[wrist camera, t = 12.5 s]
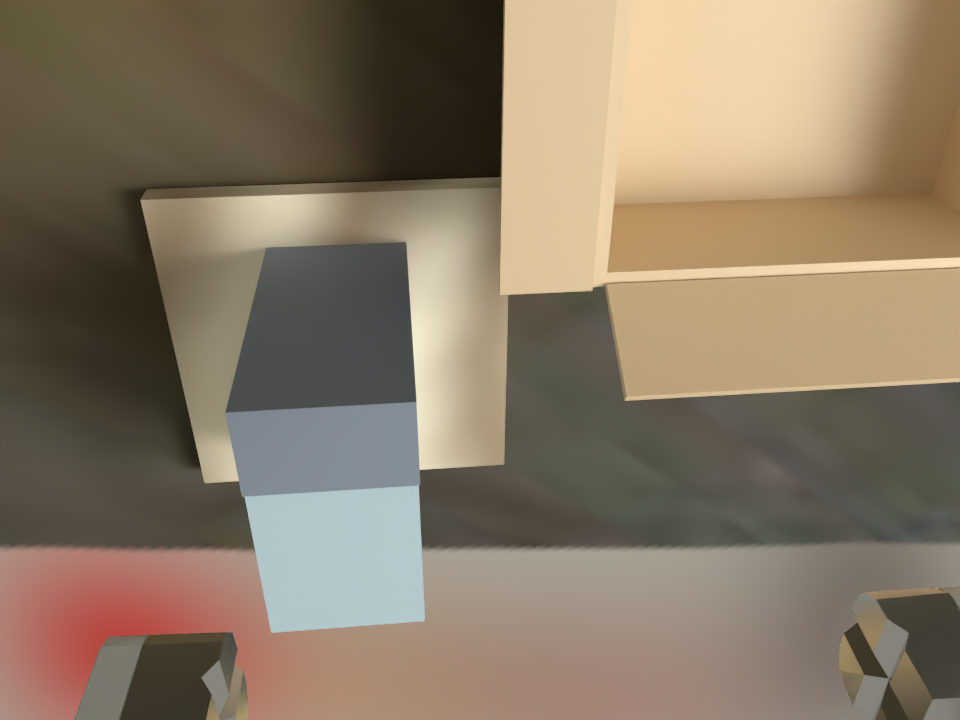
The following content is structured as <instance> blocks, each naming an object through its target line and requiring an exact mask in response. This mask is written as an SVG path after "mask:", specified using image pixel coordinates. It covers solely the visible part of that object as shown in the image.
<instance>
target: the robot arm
mask: <svg viewBox="0 0 960 720" xmlns="http://www.w3.org/2000/svg"><path fill="white" fill-rule="evenodd" d="M852 613H853V615H854V616H855V618H856V620H857V622H858V623H857V624H855V625H854V626H853V627H851V628H850V629H849V630H848V631H846V632H845V633H844V634H843V638H842V641H841V645H840V648H839V662H840V672H841V676H842V680H843V683H844V687H845V689H846V691H847V693H848V696H849V698H850V700H851V702H852V704H853V706H855V707H856V708H857V709H858V710H860V711H861V712H862V713H864V714H865V715H866V716H868V717H869V718H870V719H871V720H960V587H945V588H934V587H931V588H917V589H903V590H890V591H877V592H864V593H863V594H861V595H860V596H859V597H858V598H857V599H856V602H855V604H854V607H853V610H852ZM237 649H238V648H237V645H236V642H235V639H234V636H233V633H232V632H227V633H226V632H224V633H196V634H195V633H193V634H165V635H164V634H163V635H139V636H120V637H108V639H107V640H106V642H105V643H104V644H103V646H102V647H101V649H100V650H99V652H98V655H97V658H96V661H95V664H94V666H93V669H92V672H91V675H90V677H89V680H88V683H87V686H86V689H85V691H84V694H83V697H82V700H81V703H80V705H79V708H78V711H77V714H76V717H75V719H74V720H247V714H248V694H247V683H246V679H245V675H244V671H243V670H241V669H240V668H238V667H237V666H236V665H235V660H236V655H237Z"/></svg>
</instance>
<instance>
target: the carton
mask: <svg viewBox="0 0 960 720" xmlns="http://www.w3.org/2000/svg"><path fill="white" fill-rule="evenodd" d="M605 286H606V288H605V291H606V297H607V303H608V308H609V314H610V320H611V326H612V331H613V337H614V343H615V348H616V354H617V360H618V366H619V371H620V377H621V383H622V388H623V394H624V400H625V401H628V400H645V399H663V398H681V397H698V396H716V395H734V394H752V393H769V392H787V391H805V390H822V389H840V388H858V387H876V386H893V385H911V384H929V383H946V382H960V0H504V12H503V70H502V128H501V185H500V243H499V294H500V295H511V294H534V293H556V292H578V291H592V290H593V287H605Z"/></svg>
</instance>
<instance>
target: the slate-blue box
mask: <svg viewBox="0 0 960 720" xmlns="http://www.w3.org/2000/svg"><path fill="white" fill-rule="evenodd" d="M225 413H226V418H227V423H228V429H229V434H230V439H231V444H232V449H233V454H234V459H235V464H236V469H237V474H238V479H239V484H240V489H241V494H242V497H245V501H246V506H247V511H248V516H249V521H250V526H251V531H252V536H253V542H254V547H255V552H256V557H257V562H258V567H259V572H260V577H261V582H262V587H263V592H264V597H265V603H266V608H267V613H268V618H269V623H270V628H271V633H275V632H288V631H301V630H313V629H327V628H339V627H353V626H366V625H379V624H392V623H405V622H417V621H425V610H424V589H423V569H422V547H421V526H420V504H419V485H420V467H419V445H418V424H417V402H416V386H415V371H414V355H413V339H412V324H411V308H410V292H409V277H408V261H407V246H406V242H396V243H371V244H345V245H320V246H295V247H270V248H266V251H265V255H264V259H263V263H262V267H261V271H260V275H259V279H258V283H257V287H256V291H255V295H254V299H253V303H252V307H251V311H250V315H249V319H248V323H247V327H246V331H245V335H244V339H243V343H242V347H241V351H240V356H239V360H238V364H237V368H236V372H235V376H234V380H233V384H232V388H231V392H230V396H229V400H228V404H227V408H226V412H225Z"/></svg>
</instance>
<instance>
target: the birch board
mask: <svg viewBox="0 0 960 720" xmlns="http://www.w3.org/2000/svg"><path fill="white" fill-rule="evenodd" d="M500 185H501V177H491V178H462V179H432V180H402V181H372V182H343V183H313V184H283V185H253V186H223V187H194V188H164V189H147V190H146V191H145V193H144V195H143V196H142V198H141V200H140V201H141V205H142V209H143V214H144V218H145V223H146V227H147V231H148V236H149V240H150V245H151V249H152V253H153V258H154V262H155V267H156V271H157V275H158V280H159V284H160V289H161V293H162V297H163V302H164V306H165V311H166V315H167V320H168V324H169V328H170V333H171V337H172V342H173V346H174V350H175V355H176V359H177V364H178V368H179V372H180V377H181V381H182V386H183V390H184V394H185V399H186V403H187V408H188V412H189V417H190V421H191V425H192V430H193V434H194V439H195V443H196V447H197V452H198V456H199V461H200V465H201V469H202V474H203V478H204V483H214V482H230V481H239V479H238V474H237V469H236V464H235V459H234V454H233V449H232V444H231V439H230V434H229V429H228V423H227V418H226V413H225V412H226V408H227V404H228V400H229V396H230V392H231V388H232V384H233V380H234V376H235V372H236V368H237V364H238V360H239V356H240V351H241V347H242V343H243V339H244V335H245V331H246V327H247V323H248V319H249V315H250V311H251V307H252V303H253V299H254V295H255V291H256V287H257V283H258V279H259V275H260V271H261V267H262V263H263V259H264V255H265V251H266V248H270V247H295V246H320V245H345V244H371V243H396V242H406V246H407V261H408V277H409V292H410V308H411V324H412V339H413V355H414V371H415V386H416V402H417V424H418V445H419V467H420V470H424V469H440V468H456V467H472V466H488V465H504V445H505V404H506V363H507V322H508V295H500V294H499V243H500Z"/></svg>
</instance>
